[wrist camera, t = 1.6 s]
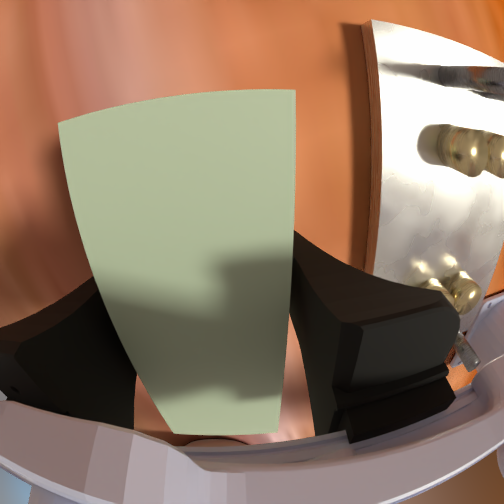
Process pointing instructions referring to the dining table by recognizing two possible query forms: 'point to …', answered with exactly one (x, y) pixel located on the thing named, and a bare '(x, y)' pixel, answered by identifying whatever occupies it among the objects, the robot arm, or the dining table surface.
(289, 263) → the pale green rectangular block
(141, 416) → the dining table surface
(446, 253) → the plate
